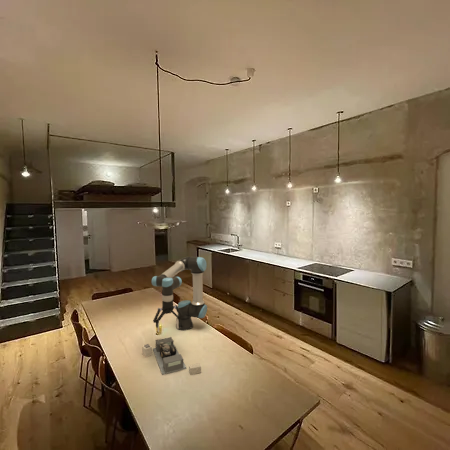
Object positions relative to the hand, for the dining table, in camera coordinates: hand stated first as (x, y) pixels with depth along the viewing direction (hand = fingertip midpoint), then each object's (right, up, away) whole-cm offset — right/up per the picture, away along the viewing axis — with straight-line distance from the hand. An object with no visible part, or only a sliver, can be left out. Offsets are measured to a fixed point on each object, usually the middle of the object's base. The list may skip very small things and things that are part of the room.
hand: (168, 329), depth 187 cm
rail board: (0, -21, 0) cm, 21 cm away
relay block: (-17, -21, +6) cm, 27 cm away
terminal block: (+21, -22, -15) cm, 34 cm away
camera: (0, -20, 0) cm, 20 cm away
